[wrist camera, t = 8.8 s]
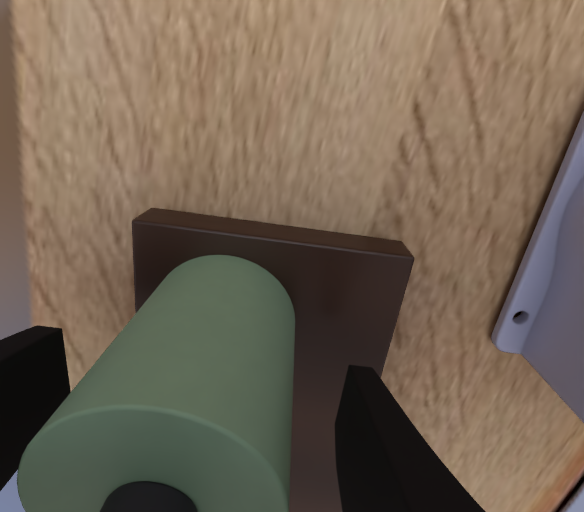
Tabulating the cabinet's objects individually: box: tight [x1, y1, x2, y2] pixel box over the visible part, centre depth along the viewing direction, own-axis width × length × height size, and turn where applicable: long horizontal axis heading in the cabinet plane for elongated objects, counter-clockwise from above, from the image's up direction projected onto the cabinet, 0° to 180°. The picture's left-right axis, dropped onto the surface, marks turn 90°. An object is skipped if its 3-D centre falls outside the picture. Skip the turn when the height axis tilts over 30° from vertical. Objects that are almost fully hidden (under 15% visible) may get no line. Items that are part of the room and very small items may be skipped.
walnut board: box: [132, 208, 414, 512], centre depth 15 cm, size 20×8×2 cm, turn 173°
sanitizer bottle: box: [17, 255, 295, 512], centre depth 8 cm, size 5×5×8 cm
